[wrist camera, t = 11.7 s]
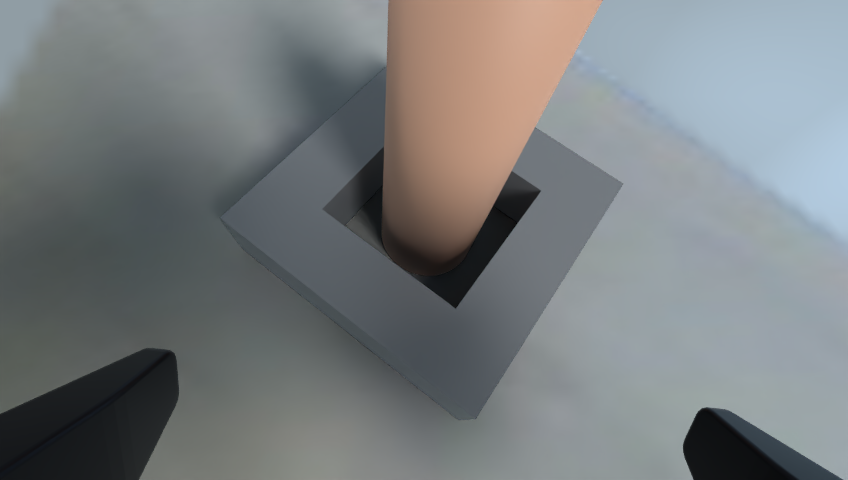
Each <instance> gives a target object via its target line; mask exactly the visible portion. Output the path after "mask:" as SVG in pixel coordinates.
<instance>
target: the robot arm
mask: <svg viewBox="0 0 848 480" xmlns="http://www.w3.org/2000/svg"><path fill="white" fill-rule="evenodd" d="M178 396H179V384H178V372H177V360H176V356H175V354H174V352H172V351H171V350H164V349H155V348H146V349H143V350H141V351H138V352H136V353H134V354H132V355H130V356H127V357H125V358H123V359H121V360H119V361H116V362H114V363H112V364H110V365H108V366H105V367H103V368H101V369H99V370H97V371H94V372H92V373H90V374H88V375H85V376H83V377H81V378H79V379H77V380H74V381H72V382H70V383H68V384H66V385H63V386H61V387H59V388H57V389H55V390H52V391H50V392H48V393H46V394H44V395H41V396H39V397H37V398H35V399H32V400H30V401H28V402H26V403H24V404H21V405H19V406H17V407H15V408H13V409H10V410H8V411H6V412H4V413H2V414H0V480H139V479H140V476H141V474H142V472H143V470H144V468H145V466H146V464H147V462H148V460H149V458H150V456H151V454H152V452H153V450H154V448H155V446H156V444H157V442H158V440H159V438H160V436H161V434H162V432H163V430H164V428H165V426H166V424H167V422H168V420H169V418H170V416H171V414H172V412H173V410H174V408H175V406H176V403H177V400H178ZM683 452H684V457H685V460H686V462H687V465H688V467H689V470H690V472H691V475H692V477H693V480H843V479H841V478H839V477H838V476H836V475H834V474H833V473H831V472H829V471H828V470H826V469H825V468H823V467H821V466H820V465H818V464H816V463H815V462H813V461H811V460H810V459H808V458H806V457H805V456H803V455H801V454H800V453H798V452H797V451H795V450H793V449H792V448H790V447H788V446H787V445H785V444H783V443H782V442H780V441H778V440H777V439H775V438H773V437H772V436H770V435H769V434H767V433H765V432H764V431H762V430H760V429H759V428H757V427H755V426H754V425H752V424H750V423H749V422H747V421H745V420H744V419H742V418H740V417H739V416H737V415H736V414H734V413H732V412H730V411H728V410H725V409H717V408H708V407H706V408H702V409H701V410H699V411H698V413H697V414H696V416H695V418H694V421H693V423H692V425H691V427H690V429H689V431H688V433H687V435H686V438H685V440H684V443H683Z"/></svg>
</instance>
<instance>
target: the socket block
mask: <svg viewBox="0 0 848 480" xmlns="http://www.w3.org/2000/svg"><path fill="white" fill-rule="evenodd" d="M386 71H387V66H386V67H385V68H384V69H383V70H382V71H381V72H380V73H378V74H377V75H376V76H375V77H374V78H373V79H372V80H371V81H370V82H369V83H367V84H366V85H365V86H364V87H363V88H362V89H361V90H360V91H359V92H358V93H356V94H355V95H354V96H353V97H352V98H351V99H350V100H349V101H348V102H346V103H345V104H344V105H343V106H342V107H341V108H340V109H339V110H338V111H337V112H335V113H334V114H333V115H332V116H331V117H330V118H329V119H328V120H327V121H326V122H324V123H323V124H322V125H321V126H320V127H319V128H318V129H317V130H316V131H315V132H313V133H312V134H311V135H310V136H309V137H308V138H307V139H306V140H305V141H304V142H302V143H301V144H300V145H299V146H298V147H297V148H296V149H295V150H294V151H293V152H291V153H290V154H289V155H288V156H287V157H286V158H285V159H284V160H283V161H282V162H280V163H279V164H278V165H277V166H276V167H275V168H274V169H273V170H272V171H271V172H269V173H268V174H267V175H266V176H265V177H264V178H263V179H262V180H261V181H260V182H258V183H257V184H256V185H255V186H254V187H253V188H252V189H251V190H250V191H248V192H247V193H246V194H245V195H244V196H243V197H242V198H241V199H240V200H239V201H237V202H236V203H235V204H234V205H233V206H232V207H231V208H230V209H229V210H228V211H226V212H225V213H224V214H223V215H222V216H221V217H220V219H221V220H222V222H223V223H224V224H225V226H226V227H227V228H228V230H229V231H230V232H231V234H232V235H233V236H234V238H235V239H236V240H237V242H238V243H239V244H240V246H241V247H242V248H243V250H245V251H246V252H247V253H248V254H250V255H251V256H252V257H253V258H255V259H256V260H257V261H259V262H260V263H261V264H262V265H264V266H265V267H266V268H267V269H269V270H270V271H271V272H272V273H274V274H275V275H276V276H277V277H279V278H280V279H281V280H282V281H284V282H285V283H286V284H288V285H289V286H290V287H291V288H293V289H294V290H295V291H296V292H298V293H299V294H300V295H301V296H303V297H304V298H305V299H306V300H308V301H309V302H310V303H311V304H313V305H314V306H315V307H317V308H318V309H319V310H320V311H322V312H323V313H324V314H325V315H327V316H328V317H329V318H330V319H332V320H333V321H334V322H335V323H337V324H338V325H339V326H340V327H342V328H343V329H344V330H346V331H347V332H348V333H349V334H351V335H352V336H353V337H354V338H356V339H357V340H358V341H359V342H361V343H362V344H363V345H364V346H366V347H367V348H368V349H369V350H371V351H372V352H373V353H375V354H376V355H377V356H378V357H380V358H381V359H382V360H383V361H385V362H386V363H387V364H388V365H390V366H391V367H392V368H393V369H395V370H396V371H397V372H398V373H400V374H401V375H402V376H404V377H405V378H406V379H407V380H409V381H410V382H411V383H412V384H414V385H415V386H416V387H417V388H419V389H420V390H421V391H422V392H424V393H425V394H426V395H428V396H429V397H430V398H431V399H433V400H434V401H435V402H436V403H438V404H439V405H440V406H441V407H443V408H444V409H445V410H446V411H448V412H449V413H450V414H451V415H453V416H454V417H455V418H457V419H458V420H469V419H476V418H477V416H478V414H479V413H480V411H481V410H482V408H483V406H484V405H485V403H486V402H487V400H488V398H489V397H490V395H491V394H492V392H493V391H494V389H495V387H496V386H497V384H498V383H499V381H500V379H501V378H502V376H503V375H504V373H505V371H506V370H507V368H508V367H509V365H510V363H511V362H512V360H513V359H514V357H515V356H516V354H517V352H518V351H519V349H520V348H521V346H522V344H523V343H524V341H525V340H526V338H527V336H528V335H529V333H530V332H531V330H532V329H533V327H534V325H535V324H536V322H537V321H538V319H539V317H540V316H541V314H542V313H543V311H544V309H545V308H546V306H547V305H548V303H549V301H550V300H551V298H552V297H553V295H554V294H555V292H556V290H557V289H558V287H559V286H560V284H561V282H562V281H563V279H564V278H565V276H566V274H567V273H568V271H569V270H570V268H571V266H572V265H573V263H574V262H575V260H576V259H577V257H578V255H579V254H580V252H581V251H582V249H583V247H584V246H585V244H586V243H587V241H588V239H589V238H590V236H591V235H592V233H593V231H594V230H595V228H596V227H597V225H598V224H599V222H600V220H601V219H602V217H603V216H604V214H605V212H606V211H607V209H608V208H609V206H610V204H611V203H612V201H613V200H614V198H615V196H616V195H617V193H618V192H619V190H620V189H621V187H622V185H623V183H621V182H620V181H618V180H617V179H615V178H614V177H612V176H611V175H609V174H607V173H606V172H604V171H603V170H601V169H600V168H598V167H596V166H595V165H593V164H592V163H590V162H589V161H587V160H586V159H584V158H582V157H581V156H579V155H578V154H576V153H575V152H573V151H571V150H570V149H568V148H567V147H565V146H564V145H562V144H561V143H559V142H557V141H556V140H554V139H553V138H551V137H550V136H548V135H546V134H545V133H543V132H542V131H540V130H539V129H537V128H536V127H535V128H534V130H533V132H532V134H531V136H530V137H529V139H528V141H527V143H526V145H525V147H524V149H523V150H522V152H521V154H520V156H519V158H518V160H517V162H516V164H515V165H514V167H513V169H512V171H511V173H510V175H509V177H508V179H507V180H506V182H505V184H504V186H503V188H502V190H501V192H500V194H499V195H498V197H497V199H496V201H495V203H494V205H493V206H494V207H496V208H497V209H499V210H500V211H501V212H503V213H504V214H506V215H507V216H509V217H510V218H512V219H513V220H515V221H516V222H518V224H517V225H516V226H515V228H514V229H513V231H512V232H511V233H510V235H509V236H508V237H507V239H506V240H505V242H504V243H503V244H502V246H501V247H500V248H499V250H498V251H497V253H496V254H495V255H494V257H493V258H492V259H491V261H490V262H489V264H488V265H487V266H486V268H485V269H484V270H483V272H482V273H481V275H480V276H479V277H478V279H477V280H476V281H475V283H474V284H473V285H472V287H471V288H470V290H469V291H468V292H467V294H466V295H465V296H464V298H463V299H462V301H461V302H460V303H459V305H458V306H457V307H456V309H455V308H454V307H453V306H451V305H450V304H449V303H447V302H446V301H445V300H443V299H442V298H441V297H439V296H438V295H437V294H435V293H434V292H433V291H431V290H430V289H429V288H427V287H426V286H425V285H423V284H422V283H421V282H419V281H418V280H417V279H415V278H414V277H412V276H411V275H410V274H408V273H407V272H406V271H404V270H403V269H402V268H400V267H399V266H398V265H396V264H395V263H394V262H392V261H391V260H390V259H388V258H387V257H386V256H384V255H383V254H382V253H380V252H379V251H378V250H376V249H375V248H374V247H372V246H371V245H369V244H368V243H367V242H365V241H364V240H363V239H361V238H360V237H359V236H357V235H356V234H355V233H353V232H352V231H351V230H349V229H348V228H347V227H345V225H346V223H347V222H348V221H349V220H350V219H351V218H352V217H353V216H354V215H355V214H356V213H357V212H358V211H359V210H360V209H361V207H362V206H363V205H364V204H365V203H366V202H367V201H368V200H369V199H370V198H371V197H372V196H373V195H374V194H375V193H376V191H377V190H378V189H379V188H380V187H381V186H382V185H383V169H384V137H385V104H386Z"/></svg>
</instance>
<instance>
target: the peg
mask: <svg viewBox="0 0 848 480" xmlns="http://www.w3.org/2000/svg"><path fill="white" fill-rule="evenodd" d="M602 1H603V0H389V5H388V38H387V71H386V104H385V137H384V169H383V202H382V240H383V244H384V247H385V249H386V251H387V253H388V255H389V256H390V258H391V259H392V260H393V261H394V262H395V263H396V264H397V265H399V266H400V267H401V268H403V269H404V270H407V271H409V272H411V273H414V274H418V275H424V276H434V275H440V274H443V273H446V272H448V271H450V270H452V269H454V268H455V267H457V266H458V265H459V264H460V263H461V262H462V261H463V260H464V258H465V257H466V255H467V253H468V252H469V250H470V248H471V246H472V244H473V242H474V240H475V238H476V237H477V235H478V233H479V231H480V229H481V227H482V225H483V223H484V222H485V220H486V218H487V216H488V214H489V212H490V210H491V209H492V207H493V205H494V203H495V201H496V199H497V197H498V195H499V194H500V192H501V190H502V188H503V186H504V184H505V182H506V180H507V179H508V177H509V175H510V173H511V171H512V169H513V167H514V165H515V164H516V162H517V160H518V158H519V156H520V154H521V152H522V150H523V149H524V147H525V145H526V143H527V141H528V139H529V137H530V136H531V134H532V132H533V130H534V128H535V126H536V124H537V122H538V121H539V119H540V117H541V115H542V113H543V111H544V109H545V107H546V106H547V104H548V102H549V100H550V98H551V96H552V94H553V92H554V91H555V89H556V87H557V85H558V83H559V81H560V79H561V78H562V76H563V74H564V72H565V70H566V68H567V66H568V64H569V63H570V61H571V59H572V57H573V55H574V53H575V51H576V49H577V48H578V46H579V44H580V42H581V40H582V38H583V36H584V34H585V33H586V30H587V29H588V27H589V25H590V23H591V21H592V19H593V17H594V16H595V14H596V12H597V10H598V8H599V6H600V5H601V3H602Z"/></svg>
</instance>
